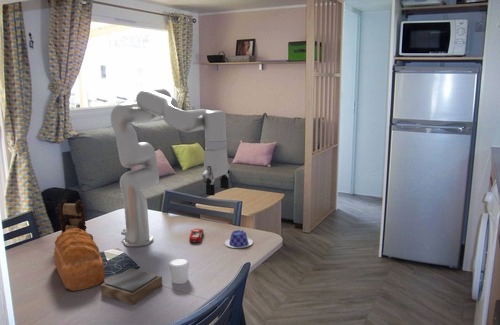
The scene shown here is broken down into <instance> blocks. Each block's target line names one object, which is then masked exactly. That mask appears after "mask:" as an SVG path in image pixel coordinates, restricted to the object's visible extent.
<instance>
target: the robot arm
mask: <svg viewBox="0 0 500 325" xmlns="http://www.w3.org/2000/svg"><path fill="white" fill-rule="evenodd" d="M178 106H179V104H178V101H177V99H175V98H174V97H172V95H171V94H170V92H169V91H168V90H167V89H165V88H145V89H142V90H141V91H139V92H138V94H137V95H136V98H135V101H132V102H131V101H130V102H123V103H120V104H118V105H116V106H114V107H113V108H112V110H111V113H110V124H111V126H112V130H113V132H114V135H115V141H116V147H117V152H118V158H119V162H120V165H121V166H122V167H123V168H127V169H128V168H133V167H134V168H135V167H139V166H140V168H137V169H131V170H129V171H126V172H124V173H123V174H122V175H121V176H120V177H119V178H120V179H119V186H120V190H121V193H122V198H123V208H124V219H125V221H124V222H125V228H123V229H122V231H121V233H120V234H121V235H122V236H124V238H123V241H122V243H123V245H125V246H127V247H131V248H132V247H136V248H137V247H144V246H147V245H149V244H152V242H153V241H154V236H153V235H151V234H150V225H149V213H148V212H149V210H148V201H147V198H146V196H145V195H144V194H143V191H146V190H149V189H152V188H154V187H155V188H156V186H157V185H158V184H159V181H160V172H159V166H158V159H157V153H156V151H155V150H156V149H155V148H154V147H153V145H152V144H151V143H149V142H146V141H142V142H139V139H138V134H137V132H136V130H135V128H134V127H133V126H132V125H131V124H137V123H144V122H150V121H152V120H154V119H155V118H157V117H160V118H163V121H164V122H165V124H167V126H169V127H171V128H173V129H175V130H178V131H180V132H183V133H192V132H199V131H203V130H204V140H205V141H204V142H205V144H204V145H205V146H204V147H205V150H204V155H203V156H204V157H203V173H202V179H203V182H204V184H205V194H206V195H207V196H213V197H214V196H215V195H216V193H215V184H214V183H215V180H216V179H217V178H220V180H219V181H220V184H219V186H220V189H226V190H228V189H229V177H230V169H231V164H229V161H228V152H227V151H228V149H227V147H228V146H227V125H226V124H227V123H226V122H227V119H226V118H227V117H226V112H225V111H223V110H219V109H218V110H217V109H214V110H212V109H211V110H210V109H207V108H198V109H191V110H184V109H181V108H179V107H178Z"/></svg>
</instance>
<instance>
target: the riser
mask: <svg viewBox="0 0 500 325" xmlns="http://www.w3.org/2000/svg"><path fill="white" fill-rule="evenodd" d="M162 277H163V276H162V275H158V274H154V273H152V272H148V271H144V270H140V269H138V268H137V269H136V268H133V267H130V268H128V269H127V270H125V271H123V272H122V273H120V274H117V275H116V276H114V277H113V278H111V279H109V280H107V281H105V282H103V283H102V284H100V290H101V296H103V297H104V296H105V297H108V298H110V299H115V300H118V301H121V302H123V303H126V304H129V305H132V306H134V305H136V304H137V303H139V302H140V301H141V300H143V299H145V298H146V297H148V296H149V295H150V294H152V293H154V292H156V290H158V289H159V288H161V287H163V278H162Z"/></svg>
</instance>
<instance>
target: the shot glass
mask: <svg viewBox="0 0 500 325" xmlns="http://www.w3.org/2000/svg"><path fill="white" fill-rule="evenodd" d="M168 265H169V270H170V278H171V282H172V283H173V284H175V285H182V284H185V283H187V282H189V270H190V269H189V268H190V261H189V259H187V258H186V257H178V258H177V257H176V258H173V259H171V260H169V262H168Z"/></svg>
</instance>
